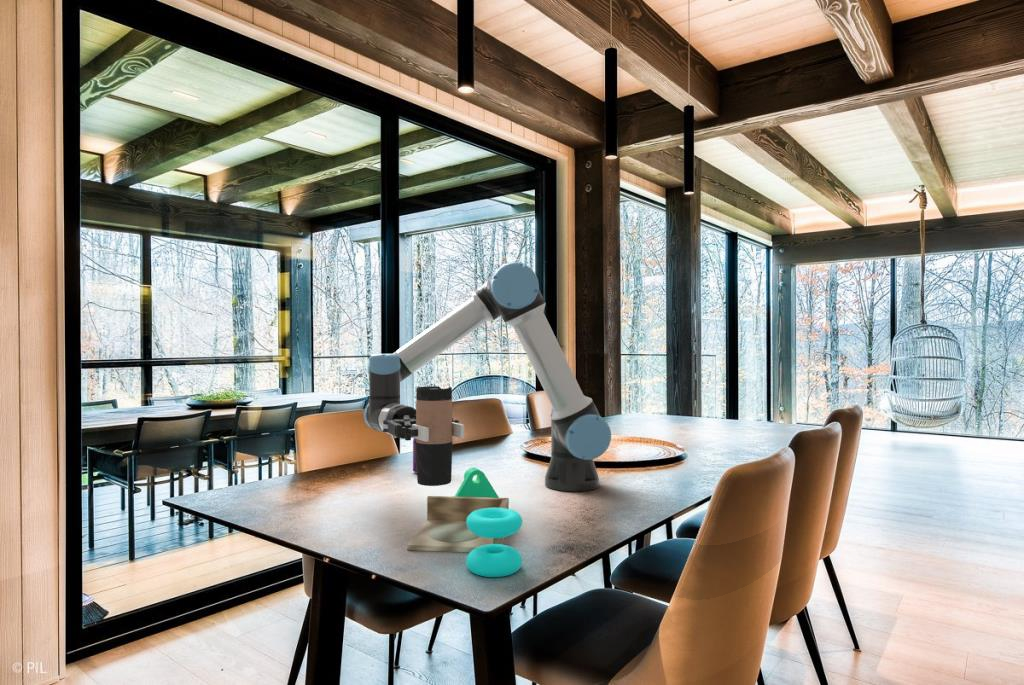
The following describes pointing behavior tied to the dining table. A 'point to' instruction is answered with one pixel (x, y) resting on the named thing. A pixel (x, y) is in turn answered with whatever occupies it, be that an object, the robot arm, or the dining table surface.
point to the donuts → (494, 556)
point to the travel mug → (434, 435)
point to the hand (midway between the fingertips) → (445, 433)
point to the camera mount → (475, 485)
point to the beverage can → (414, 456)
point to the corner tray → (453, 524)
